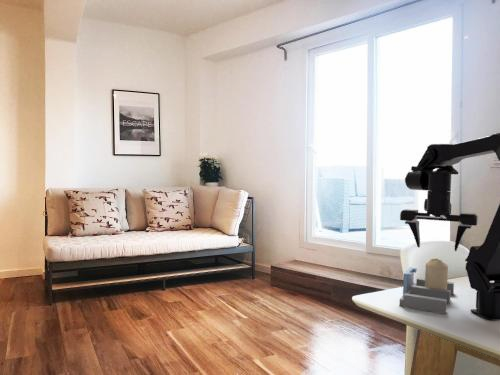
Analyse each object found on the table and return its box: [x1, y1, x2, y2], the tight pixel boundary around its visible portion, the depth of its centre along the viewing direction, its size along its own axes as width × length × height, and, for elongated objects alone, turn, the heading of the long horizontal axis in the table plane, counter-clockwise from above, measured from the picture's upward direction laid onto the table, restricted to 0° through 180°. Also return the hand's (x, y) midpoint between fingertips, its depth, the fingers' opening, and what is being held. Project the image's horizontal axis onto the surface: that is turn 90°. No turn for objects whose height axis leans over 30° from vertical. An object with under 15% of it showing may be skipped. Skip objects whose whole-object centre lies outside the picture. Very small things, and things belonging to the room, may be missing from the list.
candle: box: [424, 258, 449, 290], centre depth 116 cm, size 6×6×10 cm
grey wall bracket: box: [399, 266, 455, 315], centre depth 113 cm, size 22×12×6 cm, turn 150°
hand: (436, 248), depth 116 cm, fingers open, 9 cm apart
